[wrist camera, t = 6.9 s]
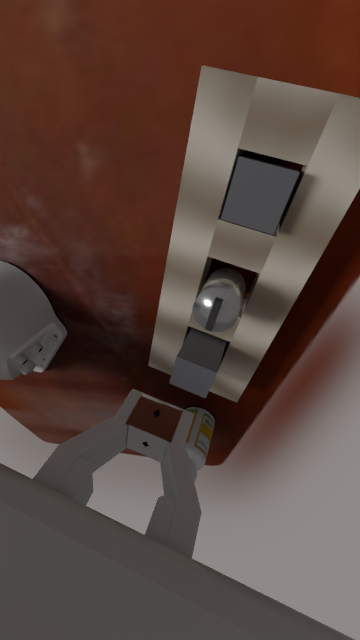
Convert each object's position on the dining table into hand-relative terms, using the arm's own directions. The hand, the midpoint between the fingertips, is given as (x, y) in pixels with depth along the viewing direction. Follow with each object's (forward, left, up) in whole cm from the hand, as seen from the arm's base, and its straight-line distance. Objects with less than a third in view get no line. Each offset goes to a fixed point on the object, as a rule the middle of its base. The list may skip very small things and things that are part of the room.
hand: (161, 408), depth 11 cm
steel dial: (0, -1, -15) cm, 15 cm away
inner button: (-8, -3, -15) cm, 17 cm away
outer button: (+7, +1, -18) cm, 20 cm away
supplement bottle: (-24, -10, -19) cm, 32 cm away
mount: (0, -1, -18) cm, 18 cm away
